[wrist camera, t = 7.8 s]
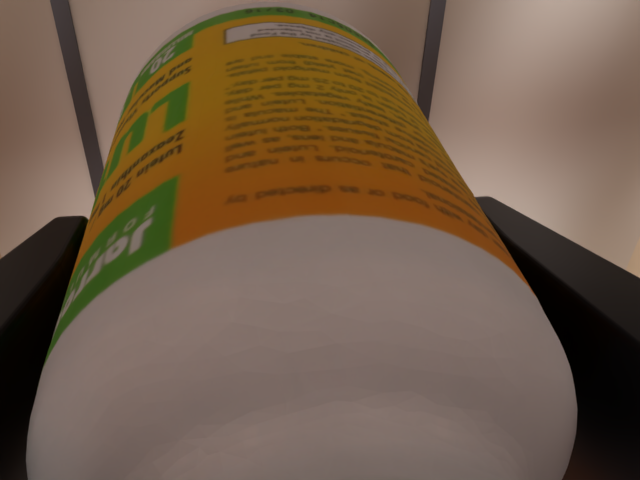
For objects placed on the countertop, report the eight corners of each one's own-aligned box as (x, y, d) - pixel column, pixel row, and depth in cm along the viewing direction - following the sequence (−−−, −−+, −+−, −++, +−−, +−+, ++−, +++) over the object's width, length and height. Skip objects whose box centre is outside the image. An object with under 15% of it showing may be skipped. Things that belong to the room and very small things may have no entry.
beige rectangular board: (818, -172, 12) (907, -166, 10) (618, 293, 19) (653, 337, 17) (-202, -204, 9) (-281, -202, 8) (10, 338, 17) (-11, 392, 15)
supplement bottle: (148, -51, 9) (-205, 738, 2) (455, 45, 11) (1031, 679, 3) (104, 227, 12) (-100, 990, 4) (351, 272, 14) (519, 894, 6)
